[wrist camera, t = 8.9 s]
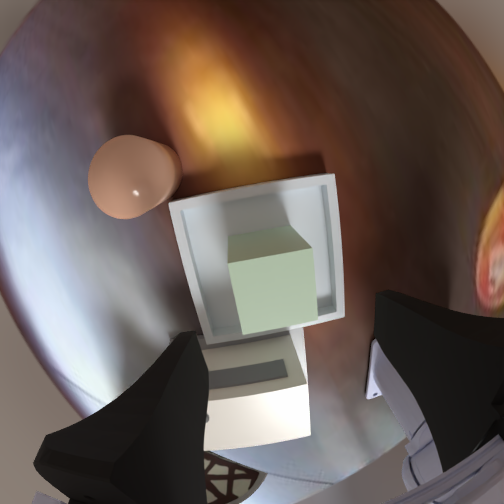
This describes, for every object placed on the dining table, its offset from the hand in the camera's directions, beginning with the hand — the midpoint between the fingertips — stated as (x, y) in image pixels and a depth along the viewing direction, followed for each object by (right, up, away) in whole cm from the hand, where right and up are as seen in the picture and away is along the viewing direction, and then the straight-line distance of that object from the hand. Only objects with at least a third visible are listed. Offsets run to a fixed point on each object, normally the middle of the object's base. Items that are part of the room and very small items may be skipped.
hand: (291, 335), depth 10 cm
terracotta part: (-8, +8, +6) cm, 13 cm away
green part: (-1, +3, +8) cm, 8 cm away
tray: (-1, +3, +8) cm, 9 cm away
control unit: (-2, -6, +11) cm, 13 cm away
